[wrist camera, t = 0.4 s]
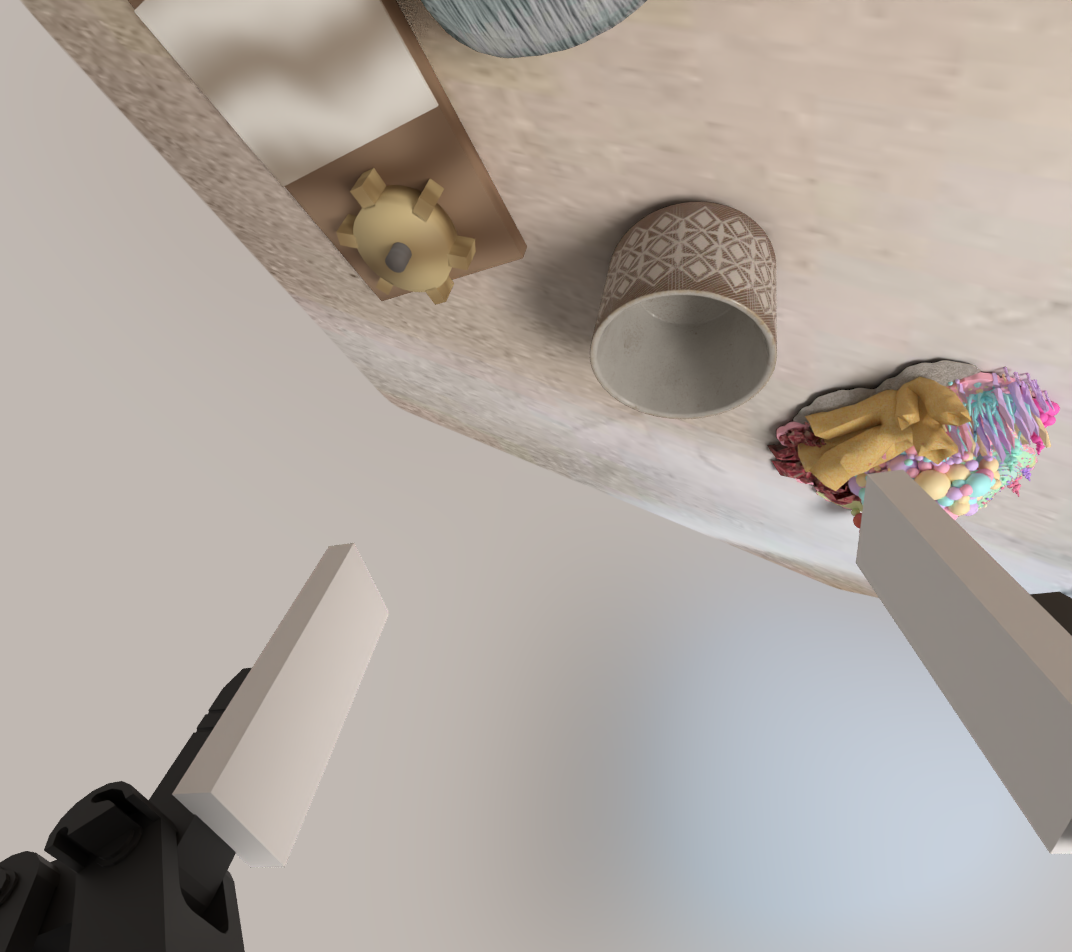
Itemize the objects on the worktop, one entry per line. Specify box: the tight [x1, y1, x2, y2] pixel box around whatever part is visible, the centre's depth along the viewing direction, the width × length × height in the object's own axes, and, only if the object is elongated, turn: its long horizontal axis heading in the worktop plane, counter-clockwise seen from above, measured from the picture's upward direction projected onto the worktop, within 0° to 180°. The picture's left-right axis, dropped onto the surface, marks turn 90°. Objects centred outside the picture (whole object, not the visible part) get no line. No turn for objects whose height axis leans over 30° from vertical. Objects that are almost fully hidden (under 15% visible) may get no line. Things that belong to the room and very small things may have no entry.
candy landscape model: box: [767, 360, 1060, 533], centre depth 52 cm, size 25×24×9 cm
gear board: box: [128, 0, 527, 305], centre depth 33 cm, size 37×16×6 cm, turn 27°
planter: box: [590, 202, 777, 419], centre depth 39 cm, size 13×13×10 cm
